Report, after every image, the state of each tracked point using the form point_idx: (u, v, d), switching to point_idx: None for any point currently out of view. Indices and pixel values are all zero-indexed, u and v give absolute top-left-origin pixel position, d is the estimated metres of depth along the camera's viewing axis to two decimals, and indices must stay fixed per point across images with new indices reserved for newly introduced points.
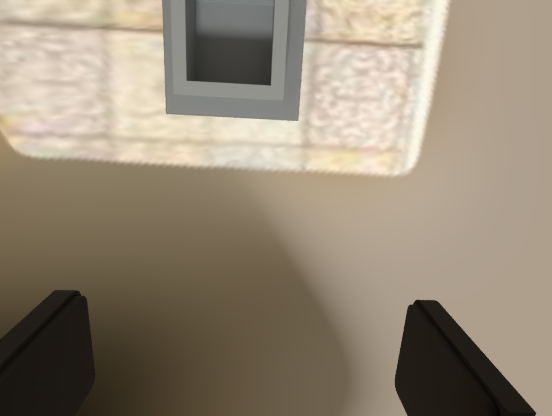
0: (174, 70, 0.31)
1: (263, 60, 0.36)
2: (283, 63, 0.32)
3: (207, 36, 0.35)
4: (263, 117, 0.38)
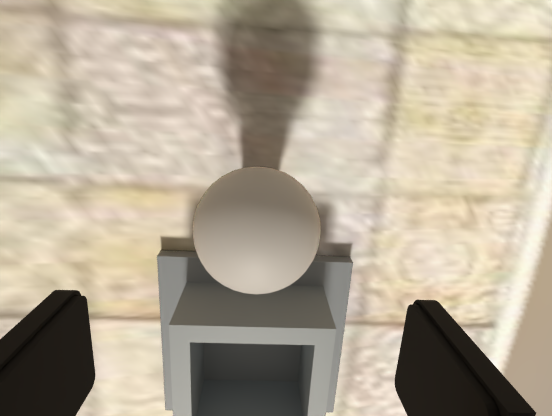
0: None
1: (290, 354, 0.28)
2: None
3: None
4: None
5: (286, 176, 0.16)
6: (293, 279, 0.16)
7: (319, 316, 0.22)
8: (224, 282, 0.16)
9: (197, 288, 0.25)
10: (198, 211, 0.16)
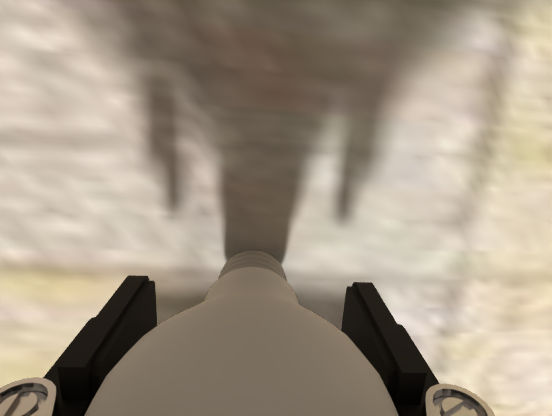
0: None
1: None
2: None
3: None
4: None
5: (322, 348, 0.06)
6: None
7: None
8: None
9: None
10: None
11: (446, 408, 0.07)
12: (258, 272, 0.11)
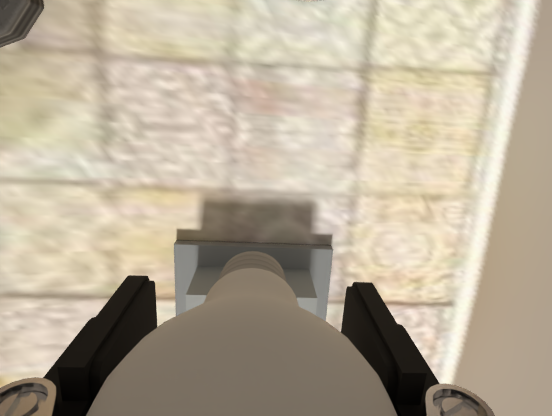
0: None
1: None
2: None
3: None
4: None
5: (322, 350, 0.06)
6: None
7: (304, 289, 0.28)
8: None
9: (206, 270, 0.31)
10: None
11: (446, 408, 0.07)
12: (258, 273, 0.11)
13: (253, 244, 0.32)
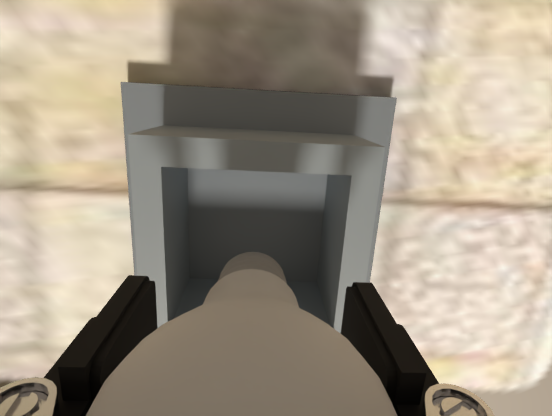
0: None
1: (307, 241, 0.20)
2: None
3: (209, 206, 0.20)
4: None
5: (323, 352, 0.06)
6: None
7: (356, 142, 0.15)
8: None
9: (177, 127, 0.17)
10: None
11: (446, 408, 0.07)
12: (258, 274, 0.11)
13: None
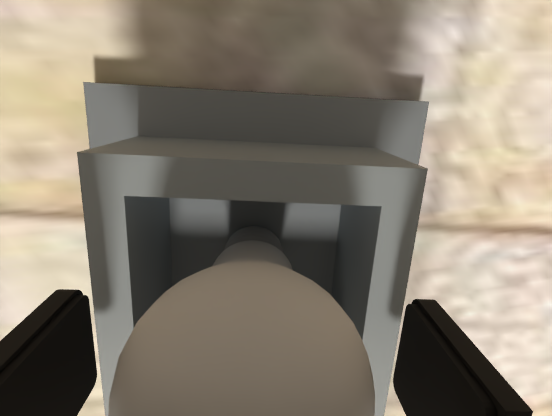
0: (107, 385, 0.12)
1: (317, 276, 0.17)
2: (388, 364, 0.12)
3: (196, 234, 0.16)
4: None
5: (306, 299, 0.07)
6: None
7: (385, 160, 0.11)
8: None
9: (155, 139, 0.14)
10: (115, 380, 0.07)
11: None
12: (258, 244, 0.13)
13: None
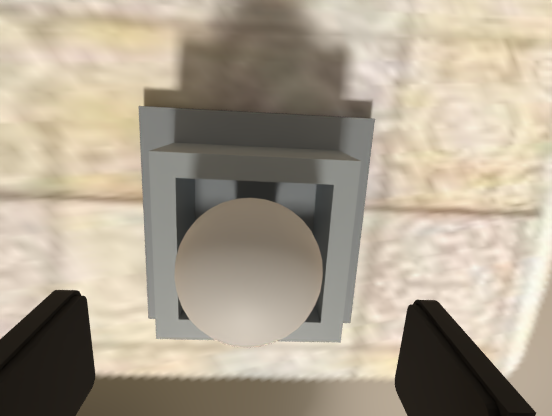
0: (158, 305, 0.18)
1: None
2: (343, 291, 0.19)
3: None
4: None
5: (282, 209, 0.14)
6: (291, 330, 0.13)
7: (338, 157, 0.18)
8: (209, 334, 0.13)
9: (187, 144, 0.20)
10: (180, 250, 0.14)
11: None
12: None
13: None
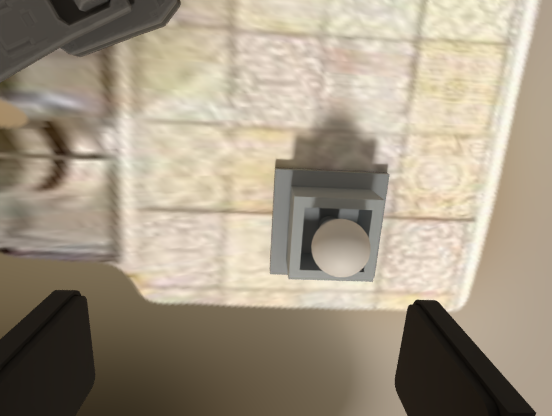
0: (291, 263, 0.41)
1: None
2: (374, 257, 0.41)
3: (307, 219, 0.45)
4: None
5: (355, 224, 0.36)
6: (359, 270, 0.36)
7: (373, 197, 0.40)
8: (329, 271, 0.36)
9: (299, 187, 0.42)
10: (317, 240, 0.36)
11: None
12: None
13: (331, 170, 0.43)
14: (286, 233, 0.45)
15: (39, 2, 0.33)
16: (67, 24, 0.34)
